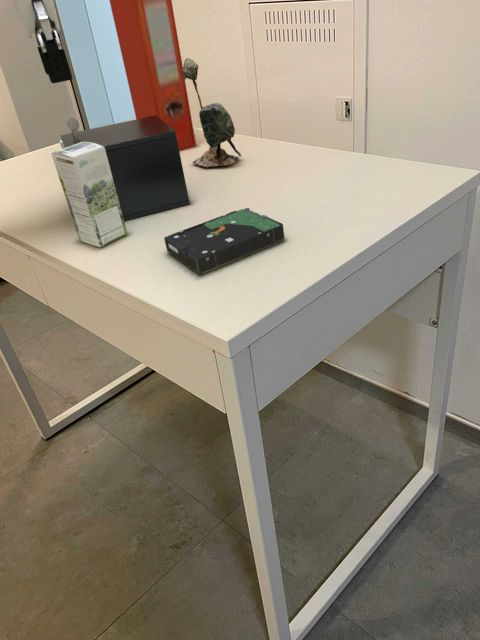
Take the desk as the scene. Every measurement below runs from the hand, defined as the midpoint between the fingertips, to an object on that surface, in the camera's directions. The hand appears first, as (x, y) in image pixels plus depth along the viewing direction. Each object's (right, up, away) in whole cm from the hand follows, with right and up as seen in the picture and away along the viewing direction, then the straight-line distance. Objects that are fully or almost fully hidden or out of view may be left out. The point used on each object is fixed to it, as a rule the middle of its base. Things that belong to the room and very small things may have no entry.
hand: (59, 76), depth 85 cm
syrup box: (+6, -24, +4) cm, 25 cm away
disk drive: (+26, -27, -4) cm, 38 cm away
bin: (+9, -16, +15) cm, 23 cm away
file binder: (+9, +7, +46) cm, 47 cm away
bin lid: (+7, -6, +8) cm, 12 cm away
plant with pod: (+23, -4, +28) cm, 37 cm away
